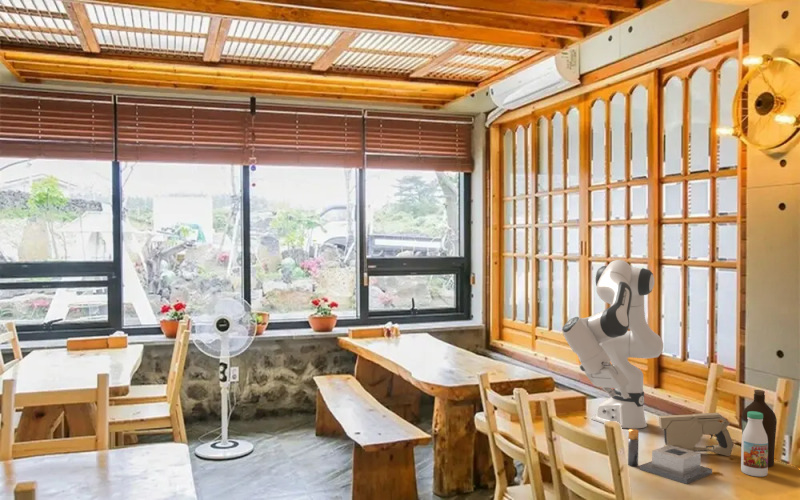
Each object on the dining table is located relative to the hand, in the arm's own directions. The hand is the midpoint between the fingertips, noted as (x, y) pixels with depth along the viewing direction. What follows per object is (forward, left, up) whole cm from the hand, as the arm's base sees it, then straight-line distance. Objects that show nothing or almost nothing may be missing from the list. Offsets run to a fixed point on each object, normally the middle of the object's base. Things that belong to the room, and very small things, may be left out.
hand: (620, 396), depth 217 cm
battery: (+2, +6, -24) cm, 24 cm away
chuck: (+14, +12, -24) cm, 30 cm away
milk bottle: (+30, +32, -24) cm, 49 cm away
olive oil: (+26, +44, -24) cm, 56 cm away
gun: (+8, +36, -24) cm, 44 cm away
